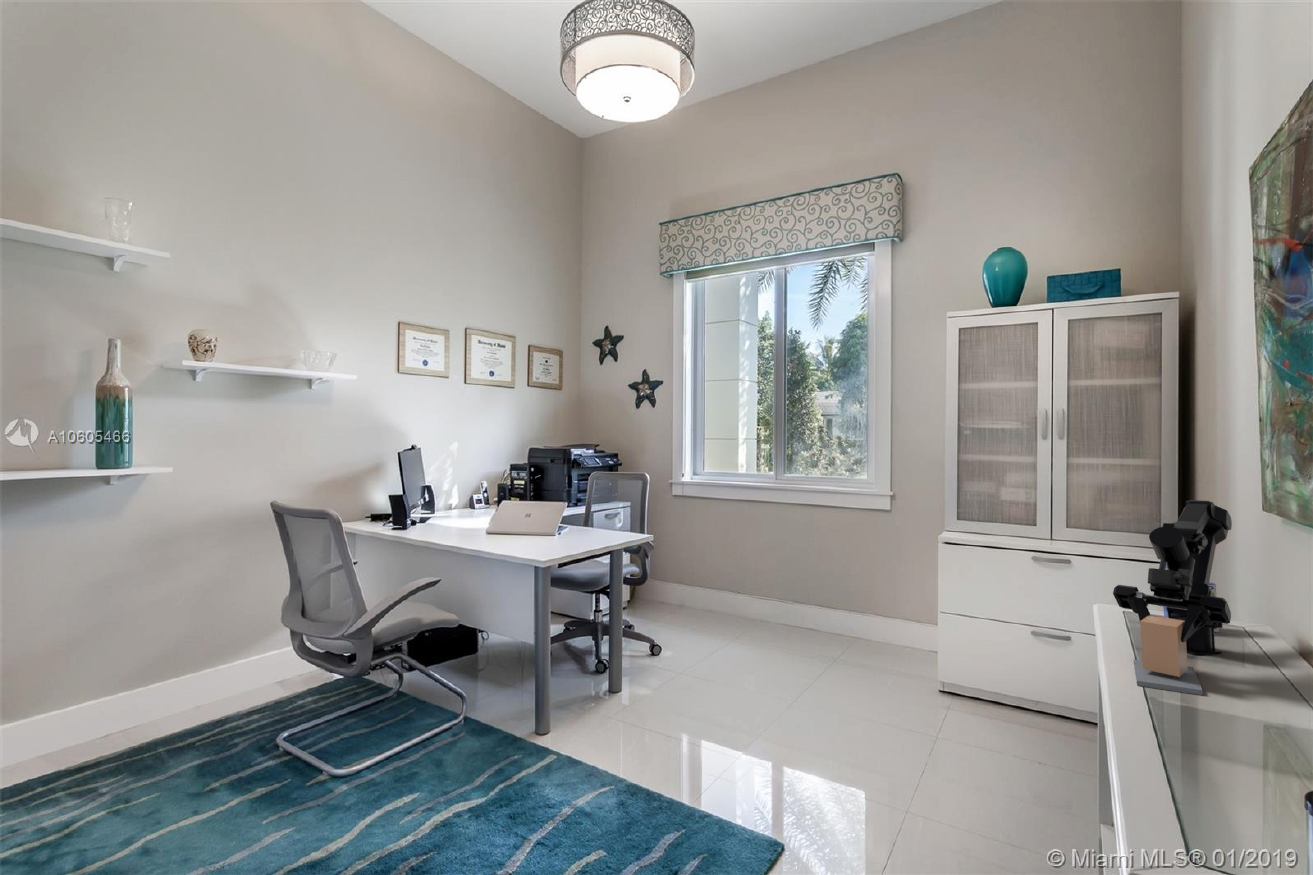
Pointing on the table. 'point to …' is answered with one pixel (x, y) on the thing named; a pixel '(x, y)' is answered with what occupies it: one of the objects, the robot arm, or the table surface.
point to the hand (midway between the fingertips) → (1162, 637)
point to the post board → (1168, 680)
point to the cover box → (1163, 645)
